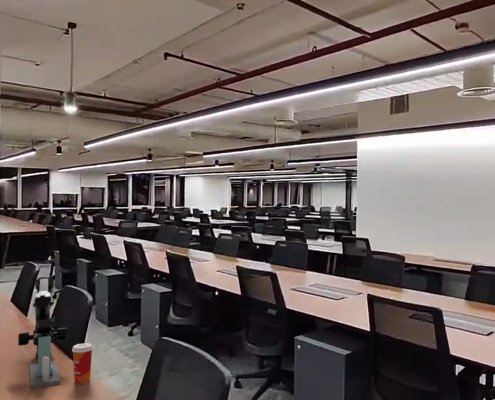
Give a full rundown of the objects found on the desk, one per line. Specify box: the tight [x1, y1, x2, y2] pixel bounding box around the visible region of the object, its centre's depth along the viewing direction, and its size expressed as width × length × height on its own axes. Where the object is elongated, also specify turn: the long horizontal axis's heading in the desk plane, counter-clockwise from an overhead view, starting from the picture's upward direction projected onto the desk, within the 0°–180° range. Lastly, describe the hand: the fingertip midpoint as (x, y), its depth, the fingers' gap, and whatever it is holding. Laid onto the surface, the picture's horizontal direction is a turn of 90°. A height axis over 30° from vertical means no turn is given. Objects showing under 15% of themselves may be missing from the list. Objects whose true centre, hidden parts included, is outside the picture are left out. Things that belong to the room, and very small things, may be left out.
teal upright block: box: [36, 336, 53, 377], centre depth 176 cm, size 9×6×14 cm, turn 28°
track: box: [29, 356, 61, 389], centre depth 179 cm, size 23×10×10 cm, turn 27°
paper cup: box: [71, 342, 93, 385], centre depth 174 cm, size 8×8×14 cm
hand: (44, 355), depth 180 cm, fingers closed, pressing on teal upright block
